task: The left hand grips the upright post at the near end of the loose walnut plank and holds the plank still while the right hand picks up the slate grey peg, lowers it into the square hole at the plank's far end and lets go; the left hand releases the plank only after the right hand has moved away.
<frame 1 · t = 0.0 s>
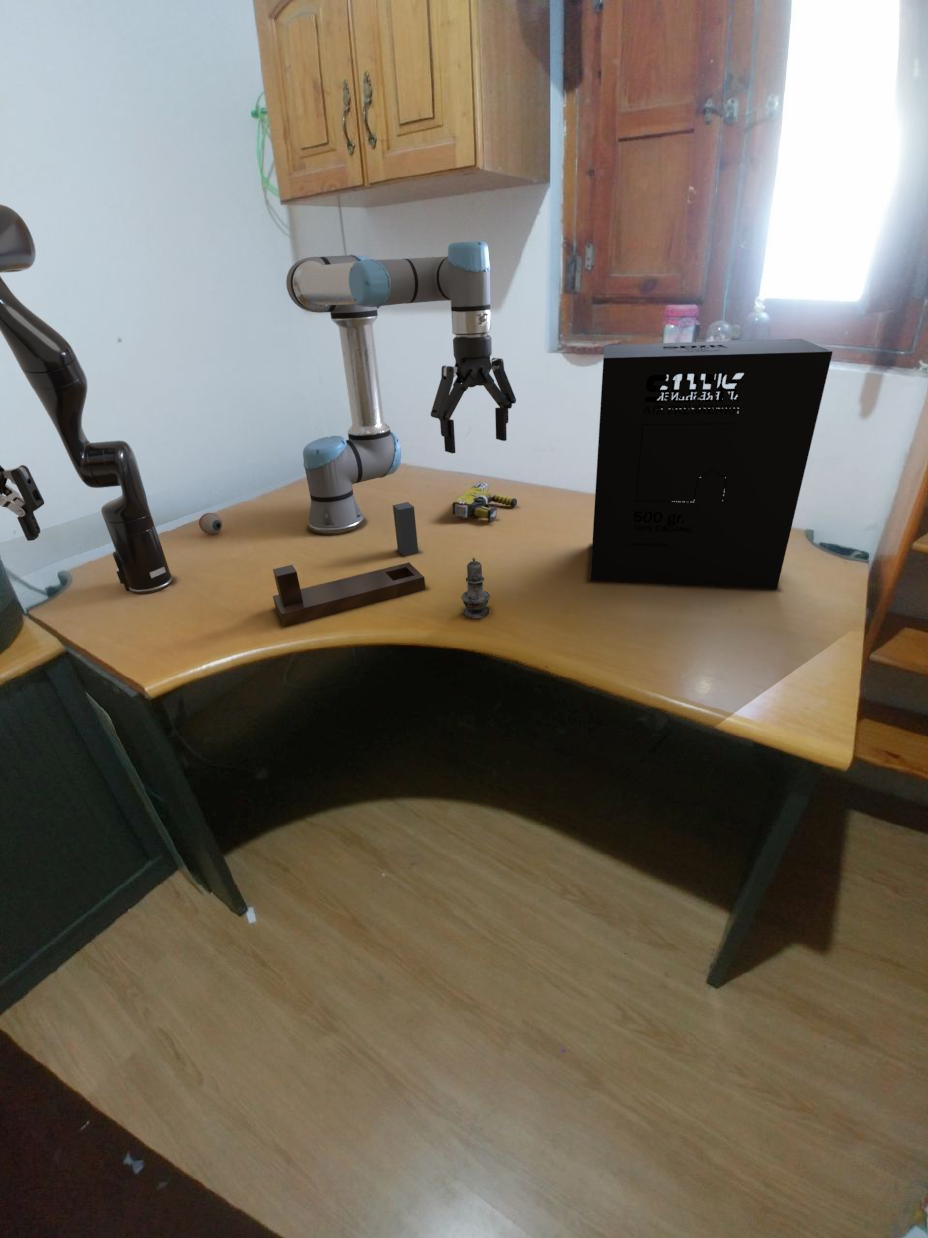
left hand: (2, 541, 88), 29 cm above the table, fingers open, 8 cm apart
right hand: (476, 445, 127), 28 cm above the table, fingers open, 13 cm apart
toy gun: (489, 508, 175), on the table
dark grey tiered piece: (476, 612, 122), on the table
cardboard box: (676, 565, 136), on the table
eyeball: (214, 534, 168), on the table
walnut plank: (349, 599, 130), on the table
grey peg: (408, 551, 151), on the table
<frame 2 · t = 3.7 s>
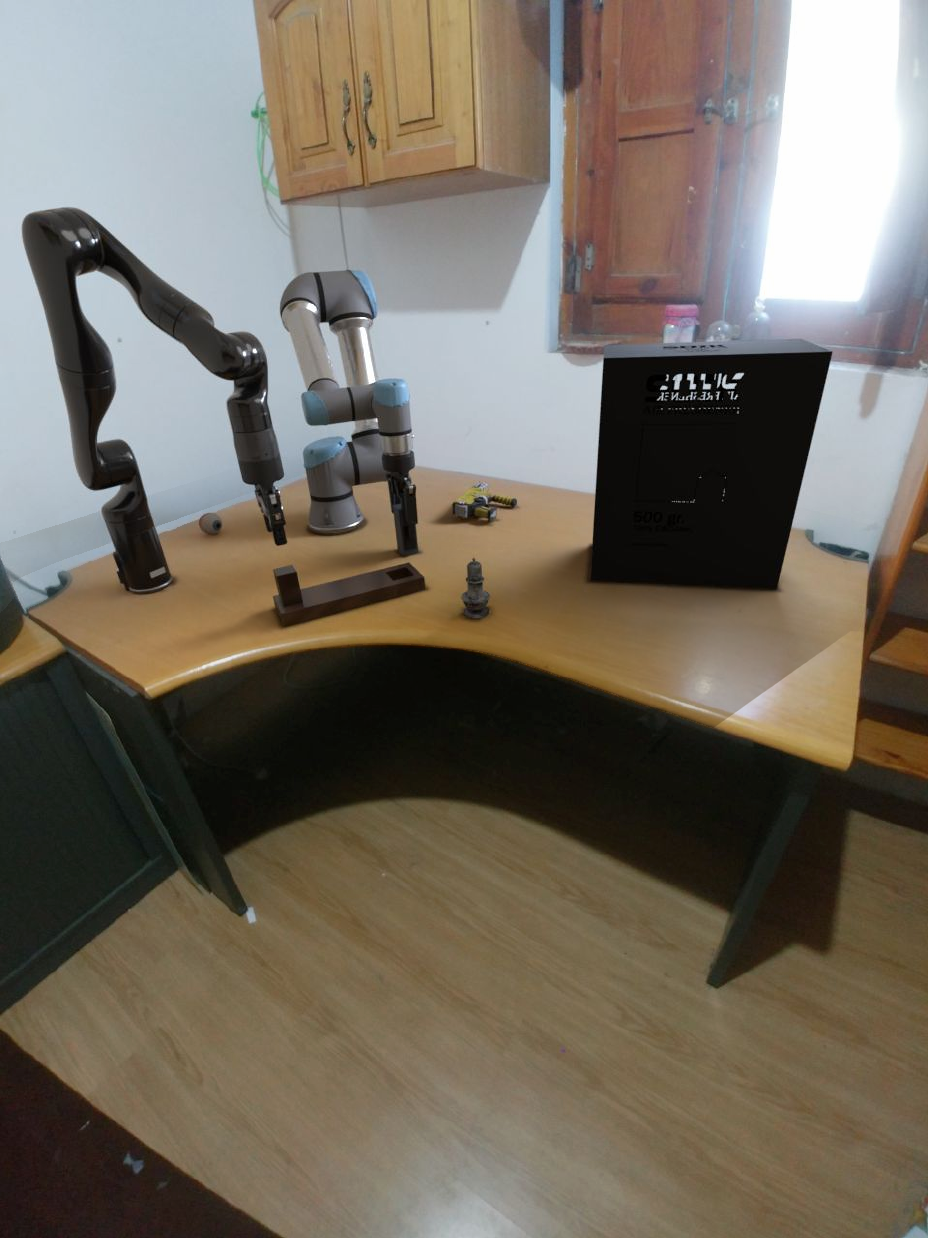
left hand: (277, 537, 117), 17 cm above the table, fingers open, 8 cm apart
right hand: (407, 545, 150), 2 cm above the table, fingers closed on grey peg, 4 cm apart
grey peg: (408, 551, 151), on the table, touching right hand
everything else where it was.
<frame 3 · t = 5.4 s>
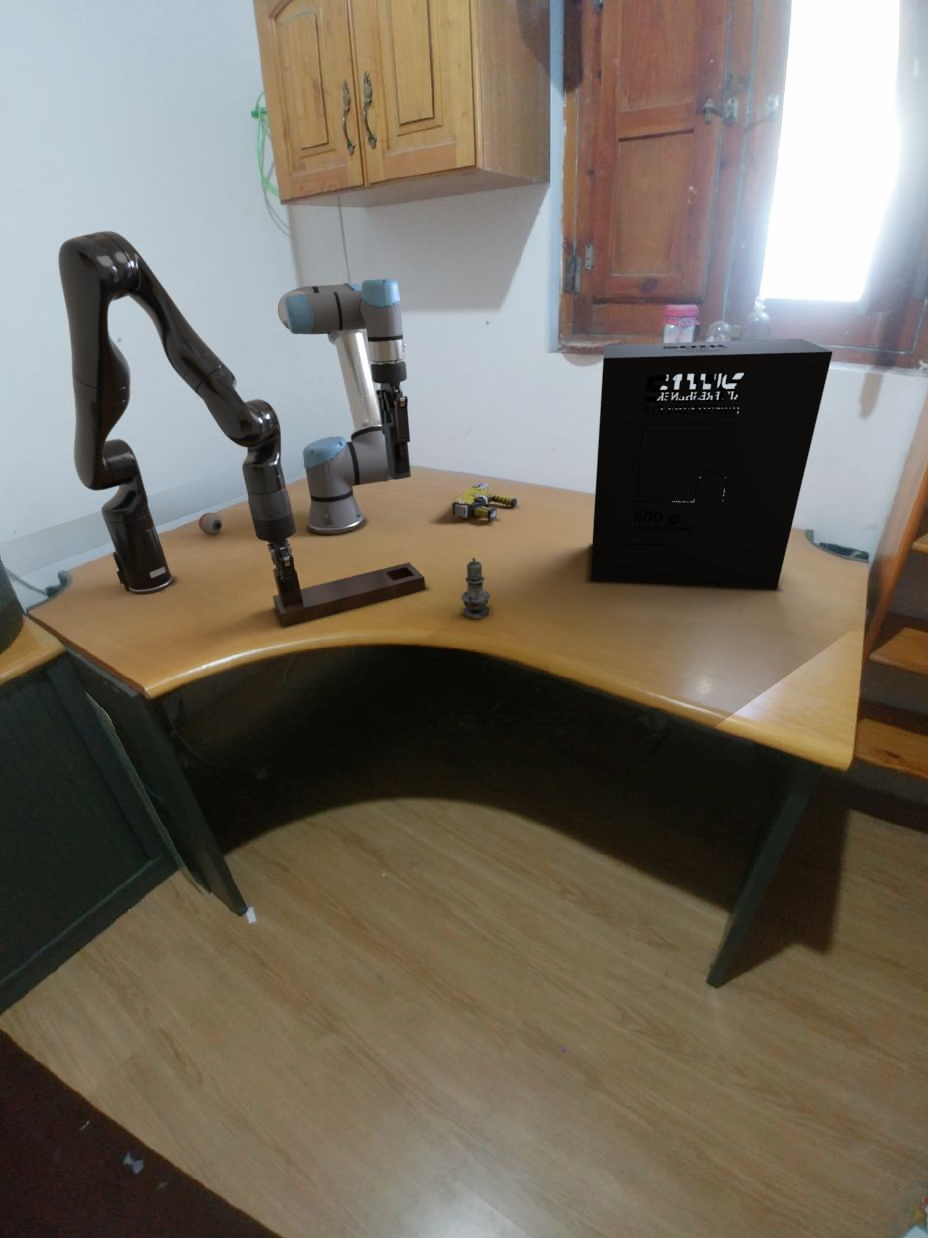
left hand: (289, 591, 123), 5 cm above the table, fingers closed on walnut plank, 4 cm apart
right hand: (399, 469, 141), 21 cm above the table, fingers closed on grey peg, 4 cm apart
walnut plank: (349, 599, 130), on the table, touching left hand
grey peg: (399, 476, 141), point 19 cm above the table, touching right hand
everything else where it was.
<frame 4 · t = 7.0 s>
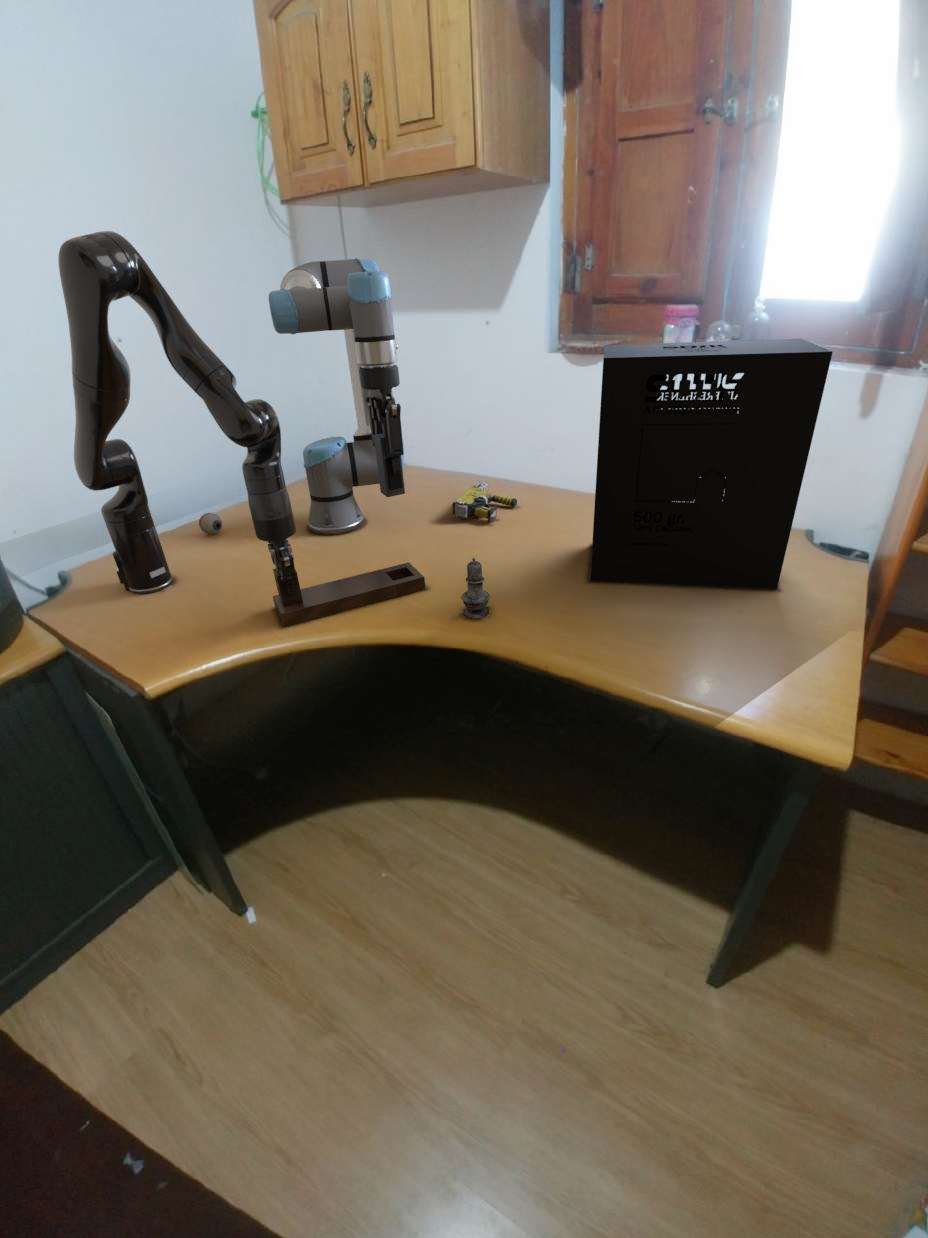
left hand: (289, 591, 123), 5 cm above the table, fingers closed on walnut plank, 4 cm apart
right hand: (391, 485, 126), 22 cm above the table, fingers closed on grey peg, 4 cm apart
walnut plank: (349, 599, 130), on the table, touching left hand
grey peg: (392, 493, 126), point 21 cm above the table, touching right hand
everything else where it was.
when the right hand's fingers open (4 cm above the table, at t = 10.5 s): grey peg drops 3 cm, resting in walnut plank.
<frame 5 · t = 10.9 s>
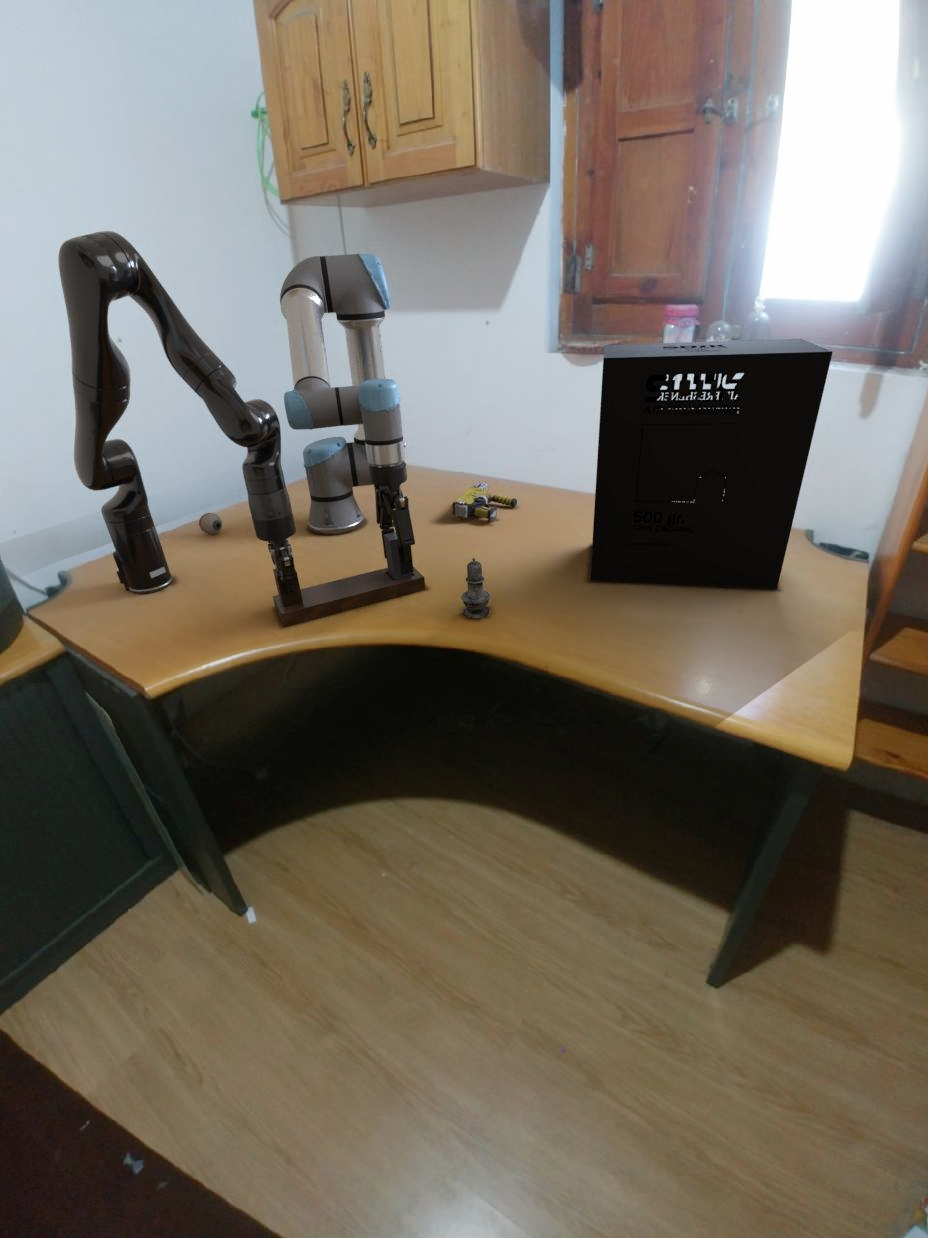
left hand: (289, 591, 123), 5 cm above the table, fingers closed on walnut plank, 4 cm apart
right hand: (398, 564, 132), 5 cm above the table, fingers open, 9 cm apart
walnut plank: (349, 599, 130), on the table, touching left hand
grey peg: (401, 585, 135), resting in walnut plank
everything else where it was.
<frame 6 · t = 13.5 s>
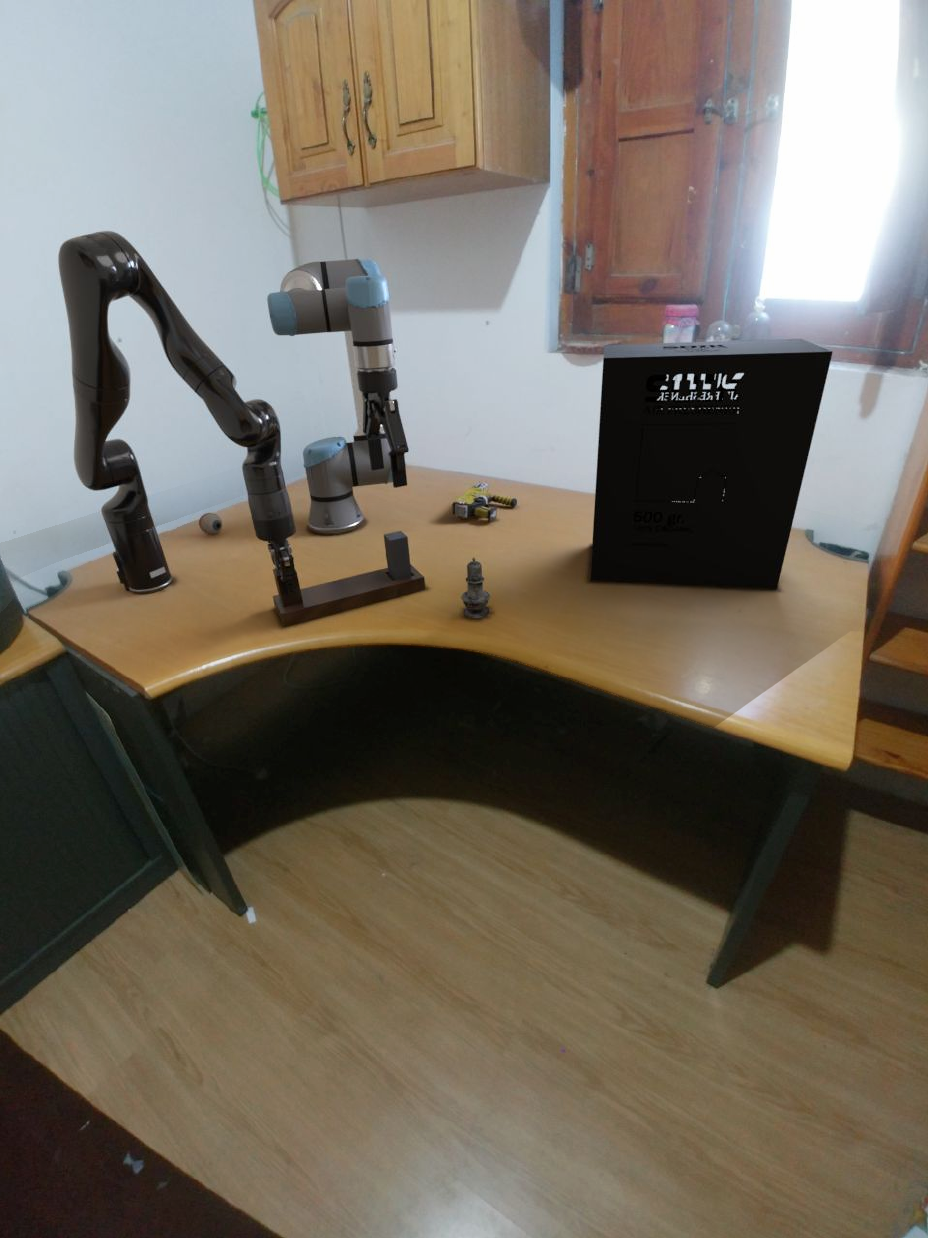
left hand: (289, 591, 123), 5 cm above the table, fingers closed on walnut plank, 4 cm apart
right hand: (388, 477, 126), 24 cm above the table, fingers open, 13 cm apart
walnut plank: (349, 599, 130), on the table, touching left hand
everything else where it was.
when the left hand's fingers open (5 cm above the table, at t = 15.1 s): walnut plank stays where it is, on the table.
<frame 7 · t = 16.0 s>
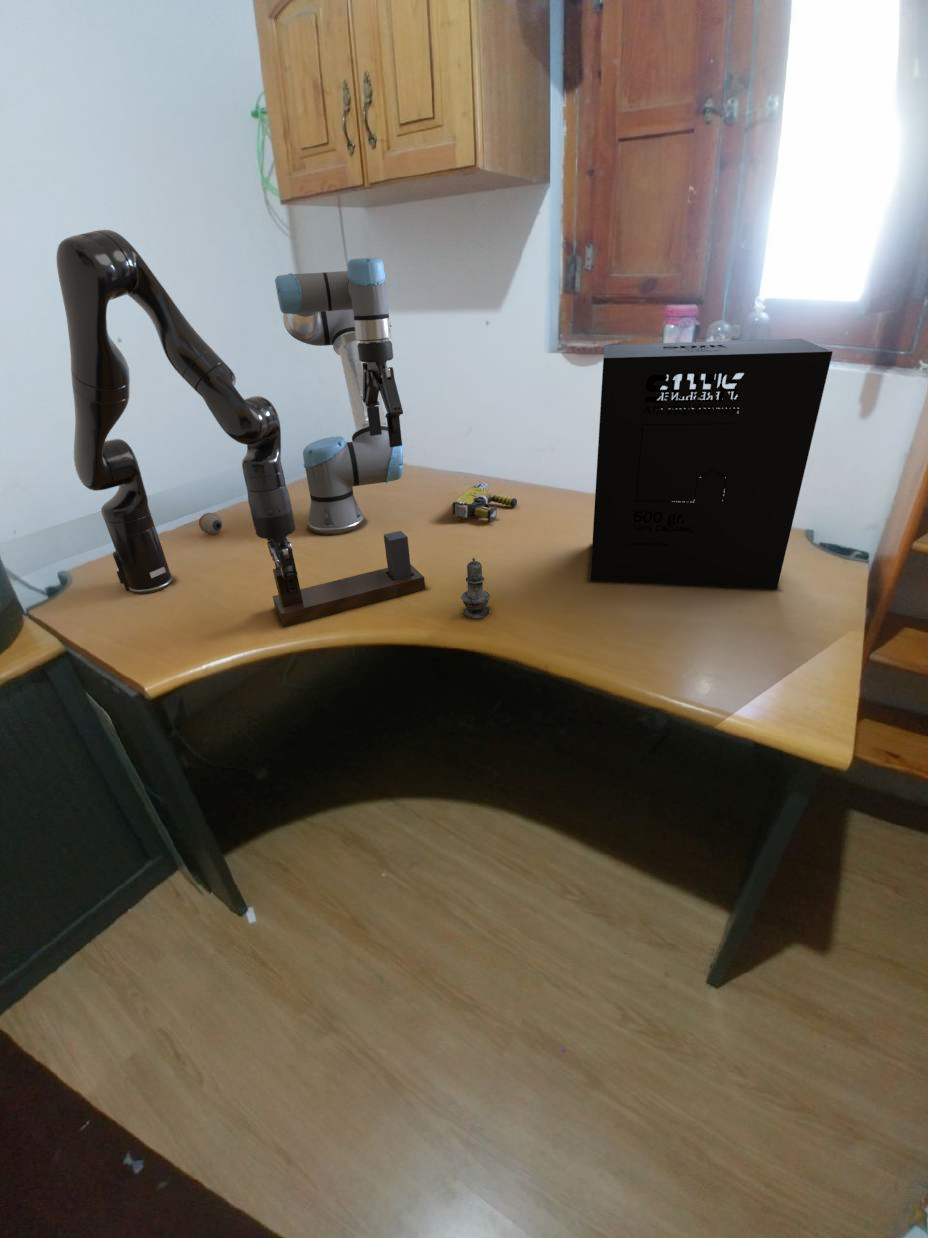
left hand: (288, 585, 123), 7 cm above the table, fingers open, 8 cm apart
right hand: (385, 440, 141), 27 cm above the table, fingers open, 13 cm apart
walnut plank: (349, 599, 130), on the table
everything else where it was.
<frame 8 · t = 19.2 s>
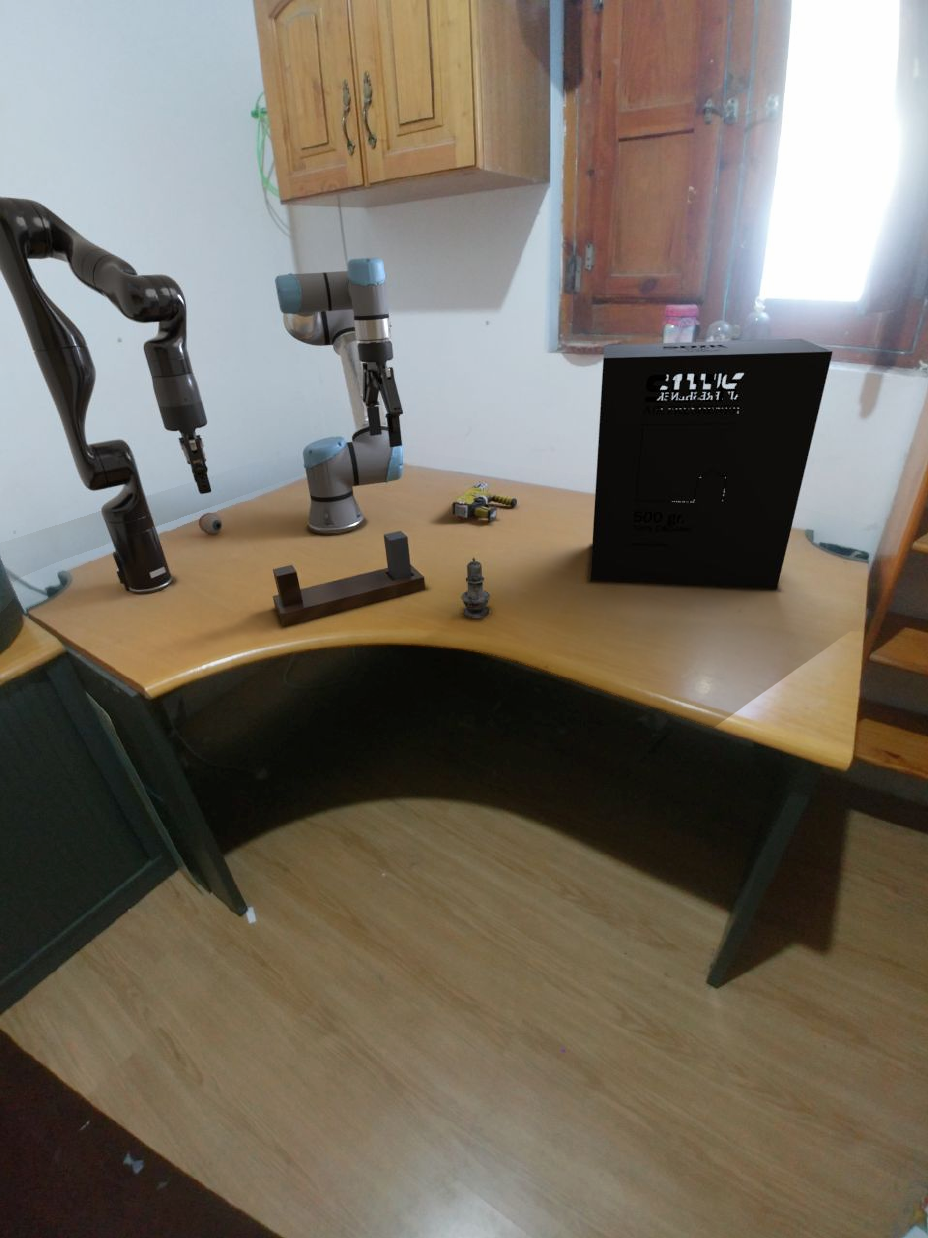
left hand: (203, 487, 118), 26 cm above the table, fingers open, 8 cm apart
right hand: (385, 440, 141), 27 cm above the table, fingers open, 13 cm apart
nothing on the table moved.
at the end: grey peg 0.1 cm from the target spot on the walnut plank, point 0.0 cm above the walnut plank's base; grey peg tilted 0°; walnut plank moved 0.0 cm from its start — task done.
